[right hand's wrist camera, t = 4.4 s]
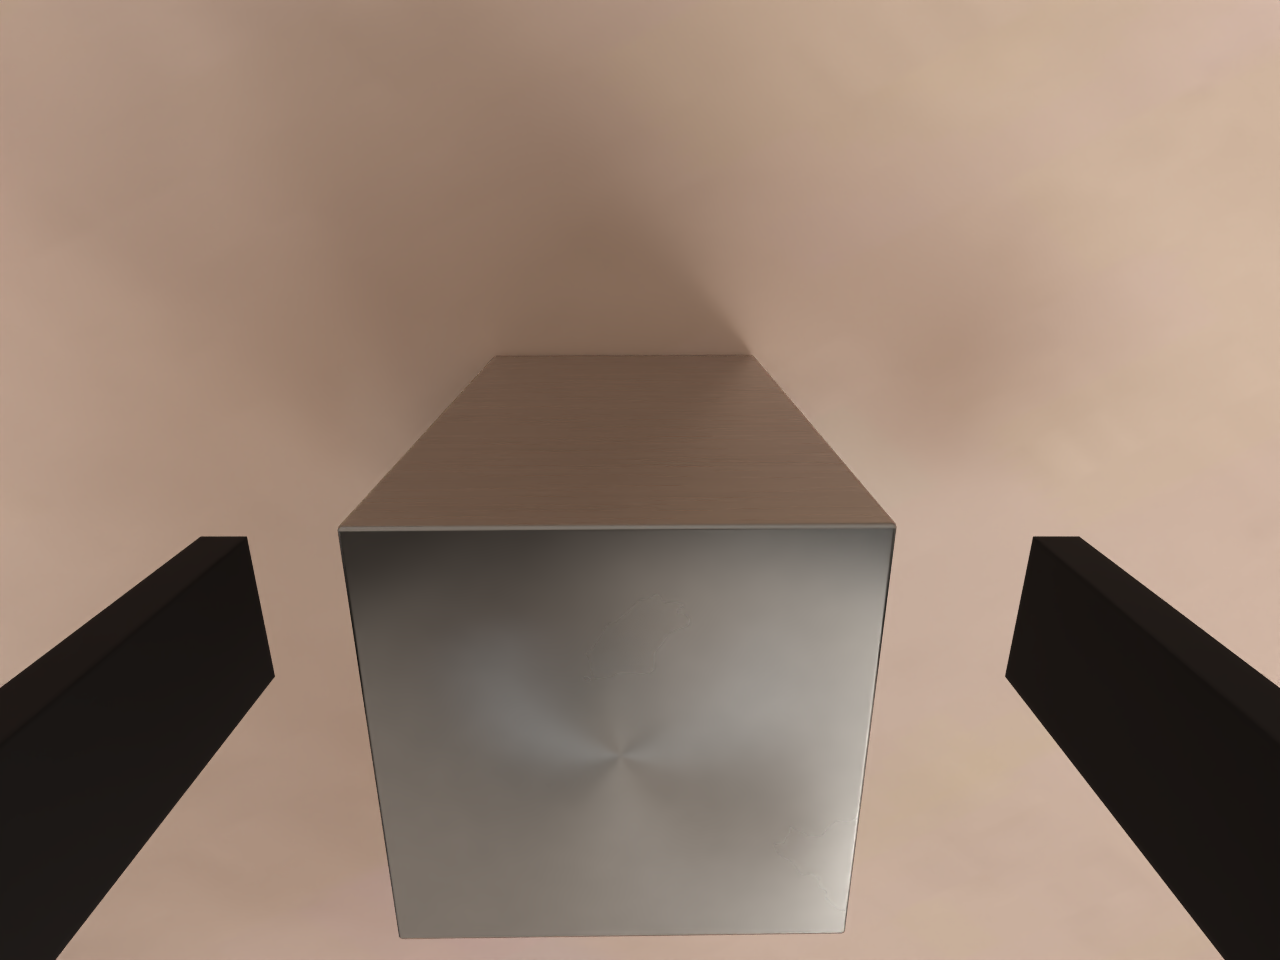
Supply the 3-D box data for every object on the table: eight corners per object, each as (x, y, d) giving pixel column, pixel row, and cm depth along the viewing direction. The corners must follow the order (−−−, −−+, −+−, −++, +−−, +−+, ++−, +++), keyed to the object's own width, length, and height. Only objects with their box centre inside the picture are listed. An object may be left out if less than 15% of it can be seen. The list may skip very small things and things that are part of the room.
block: (509, 588, 20) (398, 941, 10) (493, 355, 18) (334, 527, 8) (741, 586, 20) (845, 934, 11) (753, 355, 18) (898, 524, 8)
